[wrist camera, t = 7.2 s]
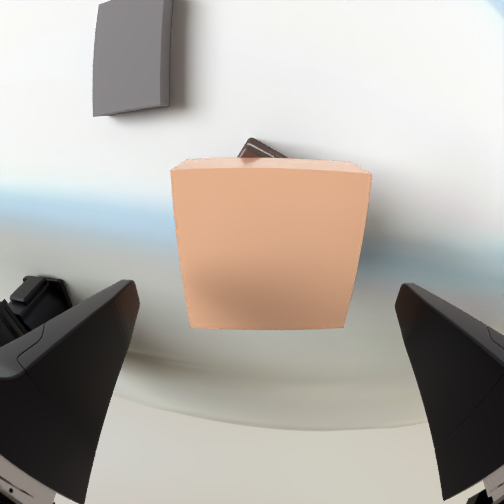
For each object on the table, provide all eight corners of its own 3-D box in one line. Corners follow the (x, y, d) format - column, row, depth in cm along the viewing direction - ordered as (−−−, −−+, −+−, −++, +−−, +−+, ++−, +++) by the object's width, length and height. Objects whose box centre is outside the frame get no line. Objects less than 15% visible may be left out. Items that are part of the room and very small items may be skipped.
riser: (169, 105, 16) (160, 104, 15) (107, 115, 16) (93, 116, 15) (173, -4, 12) (165, -14, 11) (111, 11, 12) (98, 4, 11)
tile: (332, 296, 14) (343, 327, 12) (199, 295, 14) (190, 327, 12) (350, 162, 11) (372, 173, 9) (187, 159, 11) (170, 169, 9)
